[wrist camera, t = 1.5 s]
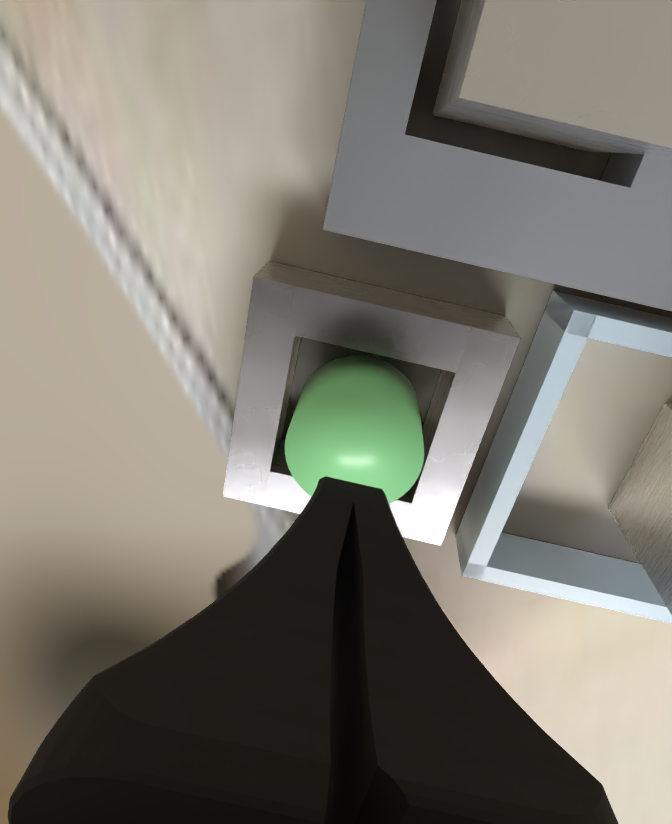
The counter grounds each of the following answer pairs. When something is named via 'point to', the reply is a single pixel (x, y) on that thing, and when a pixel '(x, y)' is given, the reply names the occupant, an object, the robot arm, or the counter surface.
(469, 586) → the counter surface
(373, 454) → the button
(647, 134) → the block
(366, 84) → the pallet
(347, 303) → the button housing
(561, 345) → the light blue rectangular frame
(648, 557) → the billet
